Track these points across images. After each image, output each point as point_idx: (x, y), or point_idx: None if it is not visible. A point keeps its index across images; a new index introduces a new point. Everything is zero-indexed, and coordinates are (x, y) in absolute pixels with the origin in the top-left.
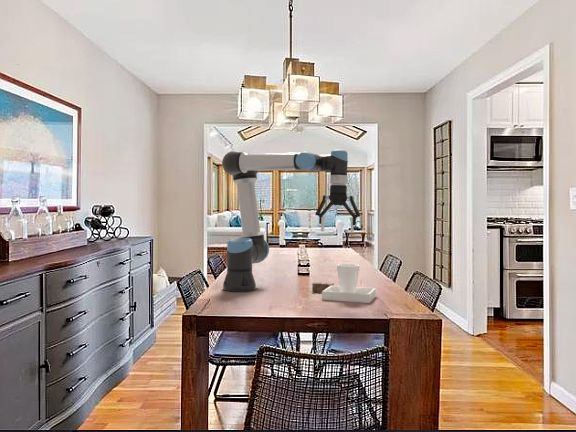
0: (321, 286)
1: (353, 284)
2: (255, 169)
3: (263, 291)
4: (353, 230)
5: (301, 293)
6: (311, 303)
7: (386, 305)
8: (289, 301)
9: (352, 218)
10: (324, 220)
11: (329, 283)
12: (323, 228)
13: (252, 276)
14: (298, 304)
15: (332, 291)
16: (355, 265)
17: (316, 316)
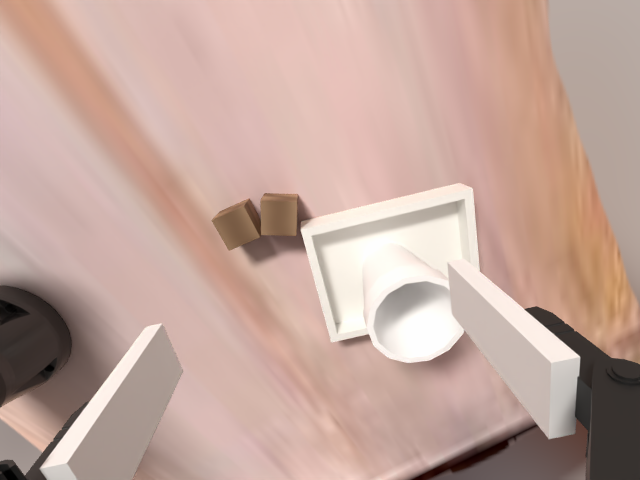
0: (255, 221)
1: (423, 295)
2: None
3: (103, 321)
4: (474, 268)
5: (222, 282)
6: (331, 381)
7: (521, 297)
8: (269, 392)
9: (571, 430)
10: (103, 415)
11: (283, 213)
12: (161, 366)
13: (18, 351)
14: (310, 406)
15: (361, 329)
16: (438, 283)
17: (405, 470)
